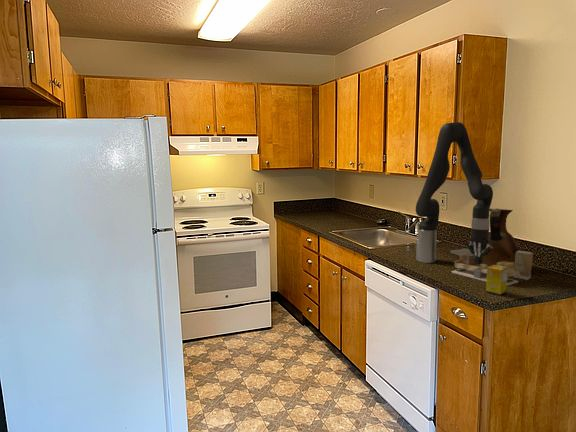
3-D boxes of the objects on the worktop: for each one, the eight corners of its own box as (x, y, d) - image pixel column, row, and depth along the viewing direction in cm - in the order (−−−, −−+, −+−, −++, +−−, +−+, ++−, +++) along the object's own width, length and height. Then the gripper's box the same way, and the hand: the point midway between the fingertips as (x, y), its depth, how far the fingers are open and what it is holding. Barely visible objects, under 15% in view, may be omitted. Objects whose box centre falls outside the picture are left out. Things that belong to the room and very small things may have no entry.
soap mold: (465, 252, 252) (465, 246, 252) (489, 260, 233) (489, 254, 233) (450, 253, 250) (450, 247, 249) (472, 261, 231) (473, 255, 230)
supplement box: (492, 289, 183) (493, 264, 181) (506, 292, 178) (508, 267, 177) (485, 292, 179) (486, 267, 177) (500, 296, 175) (501, 269, 173)
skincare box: (513, 277, 199) (514, 251, 197) (516, 275, 202) (518, 250, 200) (528, 280, 195) (530, 253, 193) (531, 278, 198) (533, 252, 196)
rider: (459, 264, 208) (459, 254, 208) (464, 263, 211) (464, 253, 210) (468, 266, 204) (468, 256, 204) (473, 265, 206) (473, 255, 206)
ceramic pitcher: (521, 265, 220) (525, 207, 215) (516, 275, 203) (520, 212, 199) (480, 260, 231) (483, 204, 226) (472, 269, 214) (475, 209, 210)
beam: (454, 267, 209) (454, 255, 209) (463, 264, 213) (463, 253, 212) (506, 277, 187) (506, 265, 187) (515, 274, 191) (515, 262, 191)
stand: (451, 272, 209) (451, 264, 208) (464, 269, 215) (464, 261, 214) (505, 286, 187) (505, 277, 186) (518, 282, 192) (518, 273, 192)
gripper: (462, 226, 203) (461, 262, 205) (488, 230, 192) (486, 268, 194) (472, 224, 207) (470, 260, 210) (498, 228, 196) (496, 265, 199)
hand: (478, 264), depth 202 cm, fingers closed
